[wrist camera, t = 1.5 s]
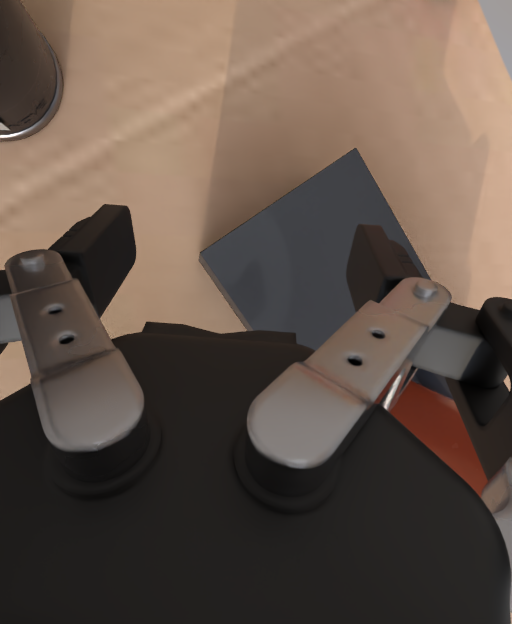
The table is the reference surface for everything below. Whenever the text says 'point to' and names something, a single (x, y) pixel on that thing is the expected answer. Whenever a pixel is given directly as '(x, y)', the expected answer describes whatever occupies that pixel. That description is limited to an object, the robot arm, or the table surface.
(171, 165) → the table surface
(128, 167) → the table surface
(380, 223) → the desk cabinet
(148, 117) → the table surface
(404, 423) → the flask
